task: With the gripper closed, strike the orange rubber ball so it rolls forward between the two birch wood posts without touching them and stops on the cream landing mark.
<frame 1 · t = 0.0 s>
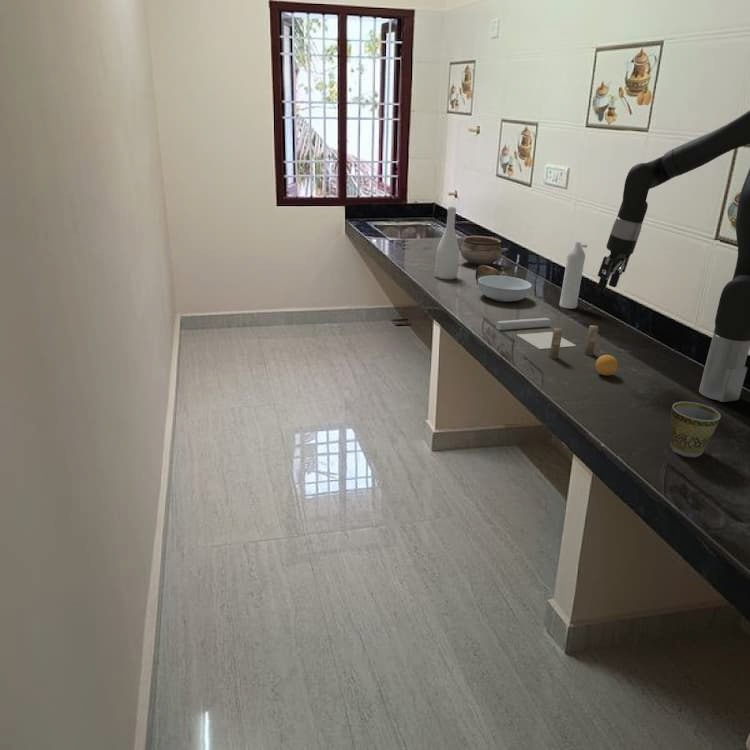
hand: (606, 288, 197), 22 cm above the counter, tool pointing down, fingers open, 8 cm apart
cooking pot: (479, 265, 318), on the counter
post right: (588, 353, 210), on the counter
wine bottle: (445, 277, 293), on the counter
serving bowl: (502, 299, 266), on the counter
ball: (606, 365, 193), on the counter
tin: (486, 287, 282), on the counter
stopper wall: (522, 327, 232), on the counter
post left: (553, 357, 206), on the counter
ceramic cup: (689, 449, 154), on the counter
landing mark: (545, 340, 220), on the counter
white pump bottle: (569, 307, 259), on the counter
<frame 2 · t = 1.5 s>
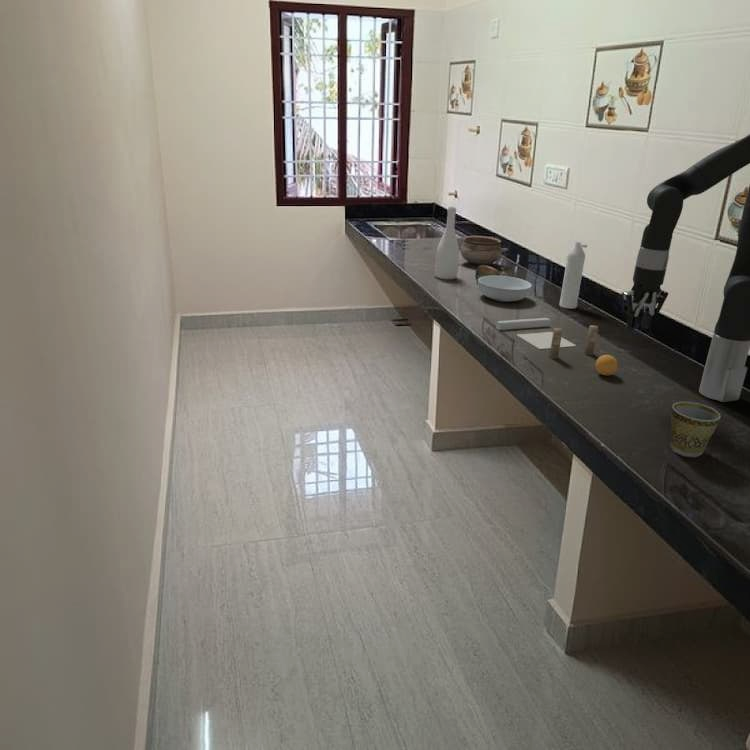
hand: (637, 328, 180), 17 cm above the counter, tool pointing down, fingers open, 3 cm apart
nothing on the counter moved.
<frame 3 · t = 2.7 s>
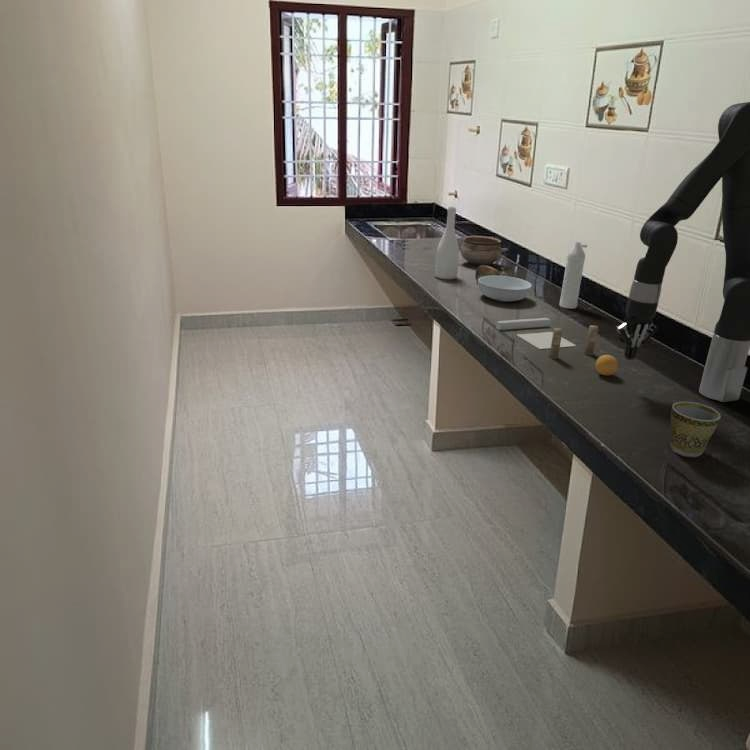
hand: (629, 358, 184), 8 cm above the counter, tool pointing down, fingers closed
nothing on the counter moved.
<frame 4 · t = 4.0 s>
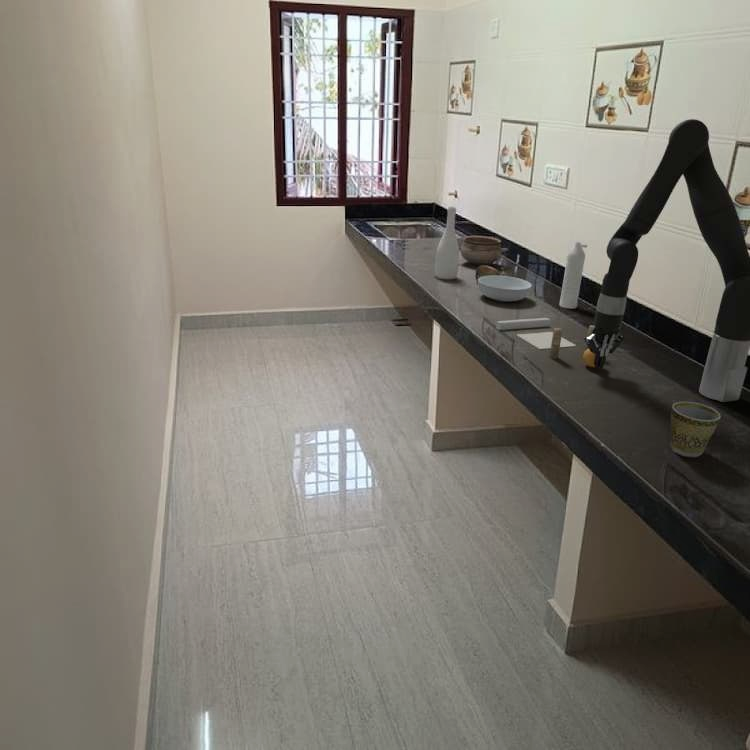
hand: (598, 366, 195), 2 cm above the counter, tool pointing down, fingers closed
ball: (593, 357, 199), on the counter
everything else where it was.
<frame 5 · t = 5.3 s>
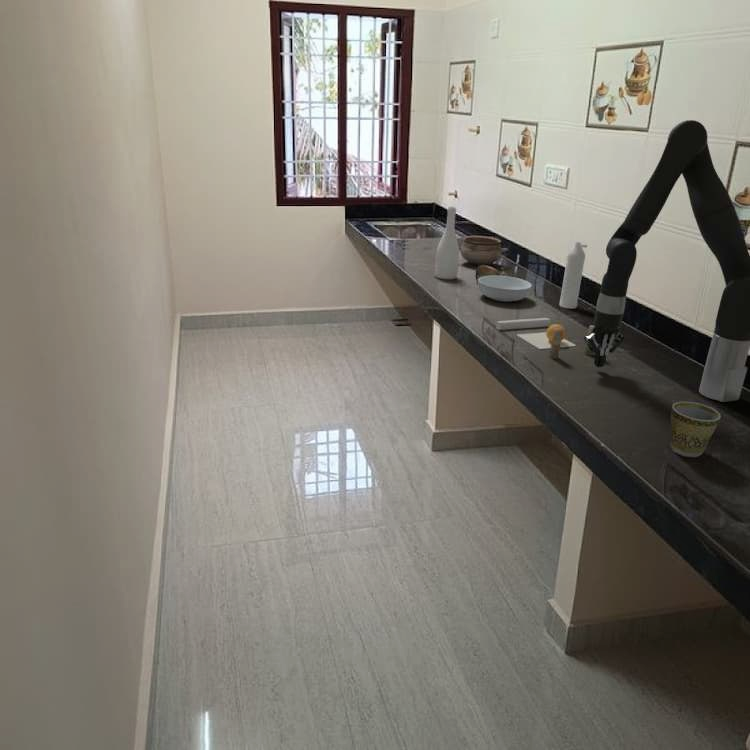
hand: (599, 366, 196), 2 cm above the counter, tool pointing down, fingers closed
ball: (555, 333, 218), on the counter
everything else where it was.
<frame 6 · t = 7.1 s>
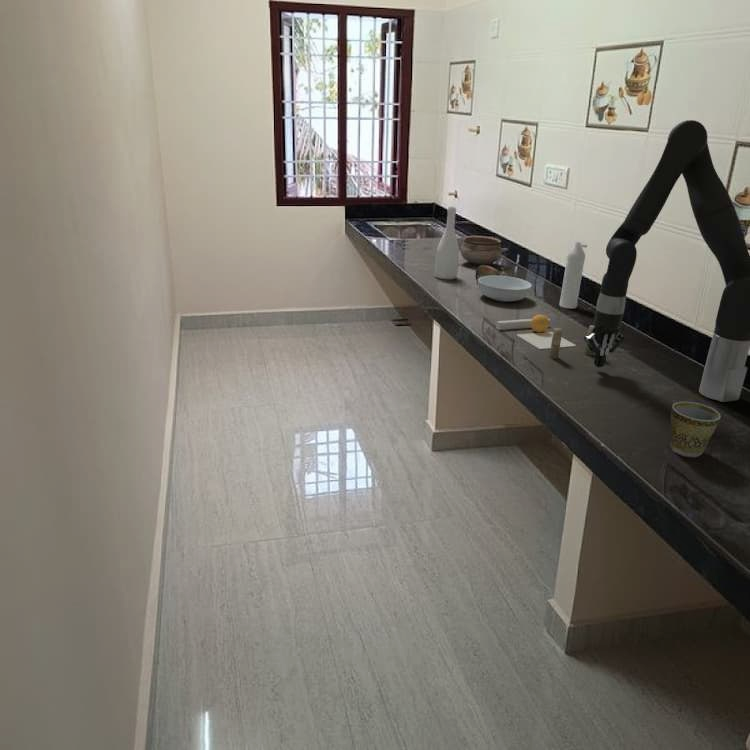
hand: (599, 366, 196), 2 cm above the counter, tool pointing down, fingers closed
ball: (539, 323, 227), on the counter
everything else where it was.
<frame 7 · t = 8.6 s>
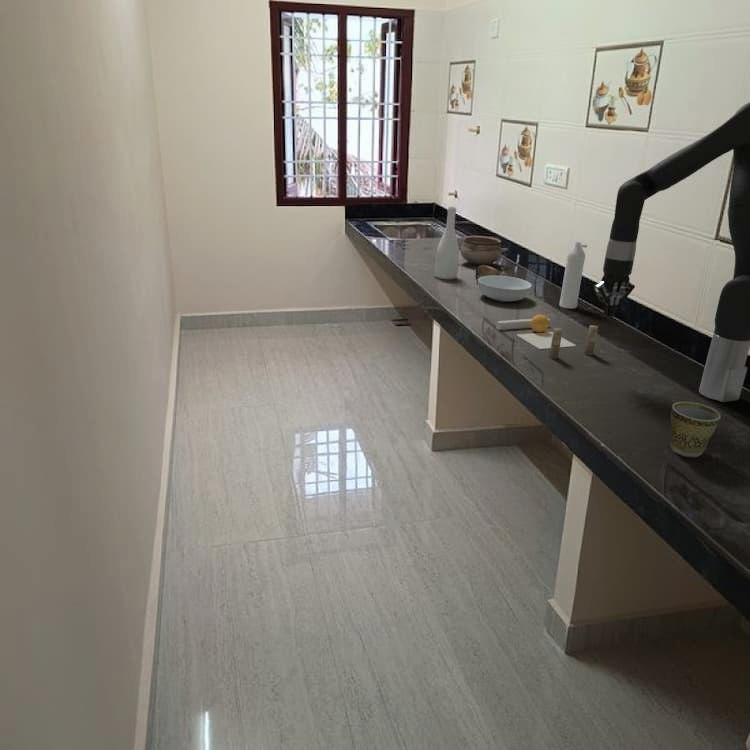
hand: (608, 316, 190), 17 cm above the counter, tool pointing down, fingers closed
nothing on the counter moved.
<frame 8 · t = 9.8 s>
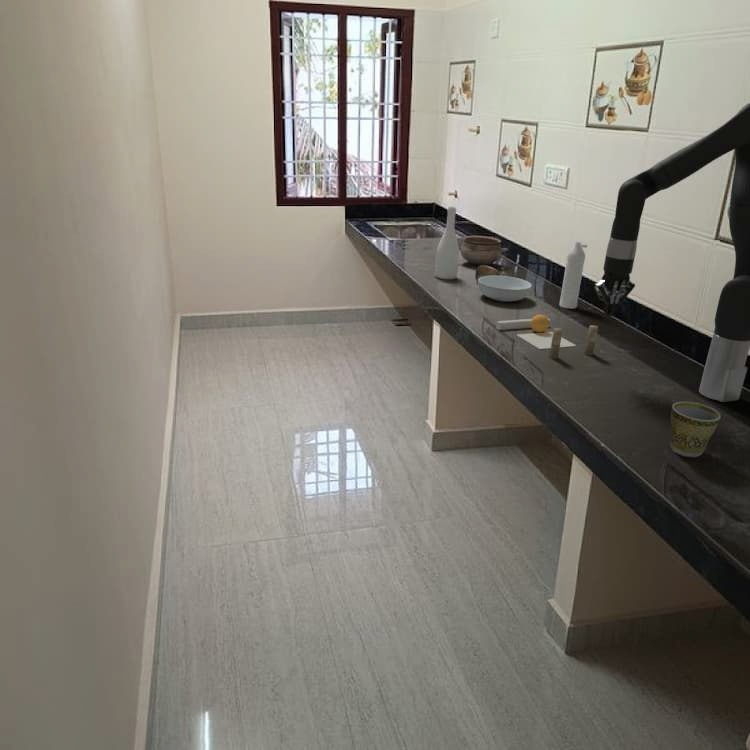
hand: (608, 315, 190), 17 cm above the counter, tool pointing down, fingers closed
nothing on the counter moved.
at the end: ball 8.8 cm from the landing mark (horizontally); ball never touched post left; ball never touched post right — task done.
